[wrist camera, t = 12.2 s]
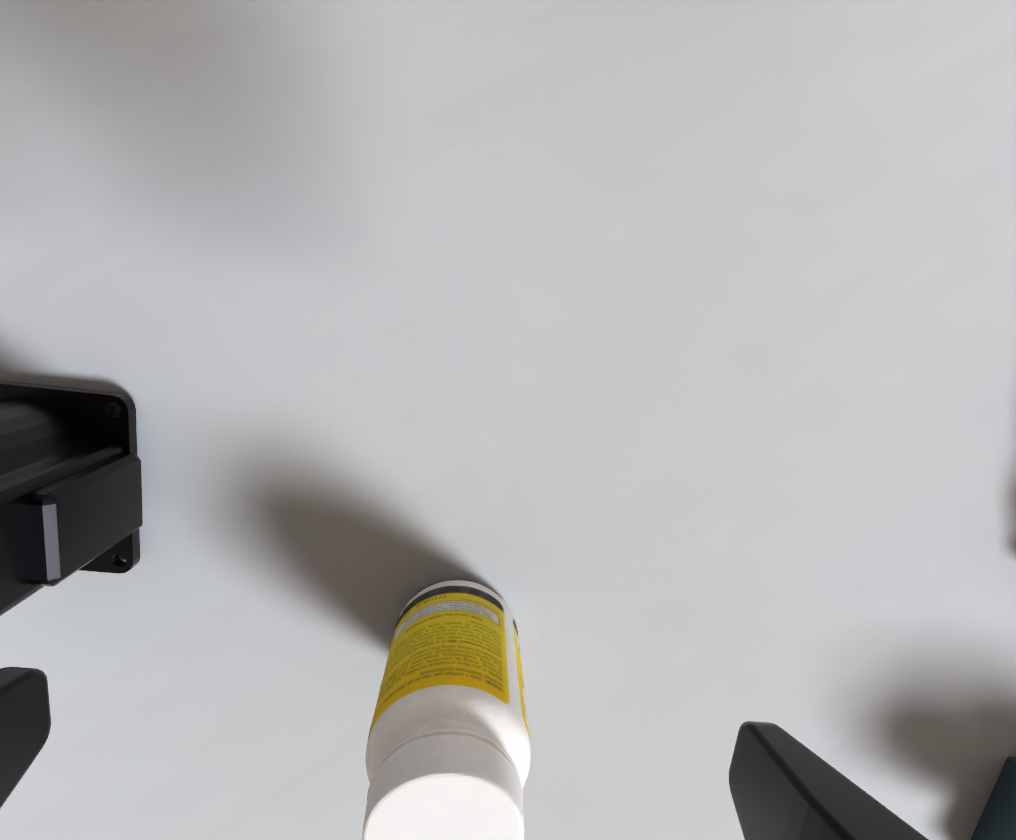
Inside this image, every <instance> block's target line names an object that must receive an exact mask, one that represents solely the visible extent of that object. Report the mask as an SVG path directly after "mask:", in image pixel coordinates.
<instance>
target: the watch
mask: <svg viewBox="0 0 1016 840" xmlns="http://www.w3.org/2000/svg"><path fill="white" fill-rule="evenodd" d="M971 840H1016V758H1011V757H1008V759H1007V761H1006V763H1005V766H1004V768H1003V770H1002V772H1001V775H1000V777H999V779H998V781H997V783H996V786H995V788H994V790H993V792H992V795H991V797H990V799H989V801H988V803H987V806H986V808H985V810H984V812H983V815H982V817H981V819H980V821H979V823H978V826H977V828H976V830H975V832H974V835H973V837H972V839H971Z"/></svg>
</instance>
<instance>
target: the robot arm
mask: <svg viewBox="0 0 1016 840" xmlns="http://www.w3.org/2000/svg"><path fill="white" fill-rule="evenodd" d="M113 403H116V404H117V405H118V406H119V407H120V409H121V412H120V415H119V414H117V413H116V412H115V411H114V410H113V407H112V406H113ZM141 525H142V486H141V460H140V459H139V457H138V456H137V436H136V408H135V404H134V402H133V401H132V399H131V398H129V397H128V396H127V395H125V394H121V393H113V392H104V391H94V390H85V389H75V388H65V387H56V386H46V385H37V384H27V383H17V382H8V381H0V616H1V615H2V614H4V613H5V612H7V611H8V610H10V609H11V608H13V607H14V606H16V605H17V604H19V603H20V602H22V601H23V600H25V599H26V598H28V597H29V596H31V595H32V594H34V593H35V592H37V591H38V590H40V589H41V588H43V587H44V586H55V585H57V584H58V583H60V582H61V581H63V580H64V579H66V578H67V577H69V576H70V575H72V574H73V573H74V572H76V571H77V570H84V571H97V572H109V573H125V572H127V571H129V570H130V569H132V568H133V567H134V566H135V565H136V564H137V563H138V562H139V559H140V539H139V527H140V526H141ZM118 554H121V555H123V556H124V557H125V559H126V562H125V561H122V560H121V559H120V558H119V556H118ZM50 727H51V716H50V705H49V694H48V683H47V677H46V675H45V674H44V672H43V671H41V670H39V669H33V668H20V667H6V668H2V669H0V808H1V807H2V805H3V804H4V802H5V801H6V800H7V798H8V797H9V795H10V794H11V792H12V791H13V789H14V788H15V787H16V785H17V784H18V782H19V781H20V779H21V778H22V777H23V775H24V774H25V772H26V771H27V769H28V768H29V766H30V765H31V764H32V762H33V761H34V759H35V758H36V756H37V755H38V753H39V752H40V751H41V749H42V747H43V746H44V744H45V742H46V740H47V738H48V735H49V732H50ZM729 785H730V791H731V795H732V798H733V801H734V805H735V808H736V812H737V815H738V818H739V822H740V825H741V828H742V832H743V835H744V838H745V840H928V839H927V838H926V837H924V836H923V835H922V834H920V833H919V832H918V831H916V830H915V829H914V828H912V827H911V826H910V825H908V824H907V823H906V822H904V821H903V820H902V819H900V818H899V817H898V816H896V815H895V814H894V813H893V812H891V811H890V810H889V809H887V808H886V807H885V806H883V805H882V804H881V803H879V802H878V801H877V800H875V799H874V798H873V797H871V796H870V795H869V794H867V793H866V792H865V791H863V790H862V789H861V788H860V787H858V786H857V785H856V784H854V783H853V782H852V781H850V780H849V779H848V778H846V777H845V776H844V775H842V774H841V773H840V772H838V771H837V770H836V769H834V768H833V767H832V766H831V765H829V764H828V763H827V762H825V761H824V760H823V759H821V758H820V757H819V756H817V755H816V754H815V753H813V752H812V751H811V750H809V749H808V748H807V747H805V746H804V745H803V744H801V743H800V742H799V741H798V740H796V739H795V738H794V737H792V736H791V735H790V734H788V733H787V732H786V731H784V730H783V729H782V728H780V727H779V726H777V725H776V724H773V723H767V722H753V721H747V722H744V723H743V724H742V725H741V727H740V729H739V732H738V736H737V740H736V744H735V749H734V753H733V757H732V761H731V765H730V770H729Z"/></svg>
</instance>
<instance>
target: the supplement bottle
mask: <svg viewBox="0 0 1016 840" xmlns="http://www.w3.org/2000/svg"><path fill="white" fill-rule="evenodd" d="M529 766H530V735H529V727H528V719H527V711H526V702H525V692H524V684H523V674H522V666H521V657H520V648H519V641H518V632H517V626H516V622H515V619H514V616H513V614H512V612H511V610H510V608H509V607H508V605H507V604H506V603H505V602H504V601H503V600H502V599H501V598H500V597H499V596H498V595H497V594H496V593H494V592H493V591H492V590H490V589H488V588H487V587H485V586H483V585H480V584H478V583H474V582H470V581H464V580H451V581H444V582H440V583H437V584H434V585H431V586H429V587H427V588H425V589H424V590H422V591H420V592H419V593H418V594H416V595H415V596H414V597H413V598H412V599H411V600H410V601H409V602H408V603H407V604H406V606H405V607H404V609H403V610H402V612H401V614H400V616H399V619H398V621H397V624H396V627H395V631H394V635H393V639H392V643H391V647H390V652H389V655H388V660H387V663H386V668H385V672H384V676H383V680H382V684H381V688H380V692H379V697H378V700H377V705H376V709H375V713H374V717H373V721H372V724H371V728H370V732H369V737H368V743H367V750H366V769H367V774H368V778H369V781H370V786H369V790H368V796H367V807H366V813H365V820H364V826H363V840H523V839H524V815H523V790H522V788H523V786H524V784H525V781H526V778H527V775H528V771H529Z"/></svg>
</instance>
